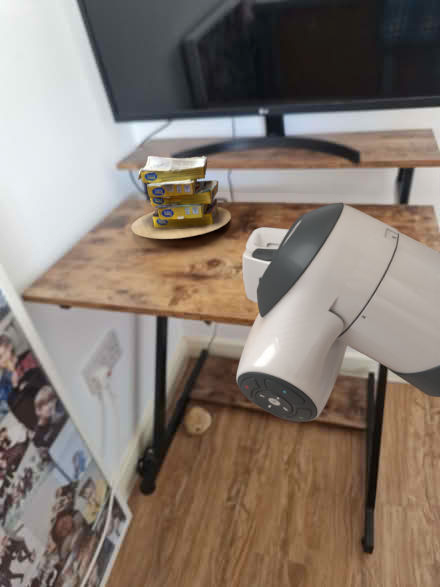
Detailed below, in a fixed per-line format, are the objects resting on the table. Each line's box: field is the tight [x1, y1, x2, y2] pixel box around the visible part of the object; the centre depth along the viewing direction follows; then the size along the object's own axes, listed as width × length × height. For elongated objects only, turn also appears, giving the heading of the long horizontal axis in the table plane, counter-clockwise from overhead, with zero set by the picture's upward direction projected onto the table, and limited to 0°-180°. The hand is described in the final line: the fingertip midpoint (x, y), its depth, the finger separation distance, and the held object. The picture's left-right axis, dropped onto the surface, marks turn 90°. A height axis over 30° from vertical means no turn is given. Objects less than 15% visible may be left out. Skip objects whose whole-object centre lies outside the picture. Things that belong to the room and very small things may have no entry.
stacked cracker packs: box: [130, 155, 232, 240], centre depth 97 cm, size 25×25×17 cm
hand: (340, 227), depth 53 cm, fingers open, 5 cm apart
